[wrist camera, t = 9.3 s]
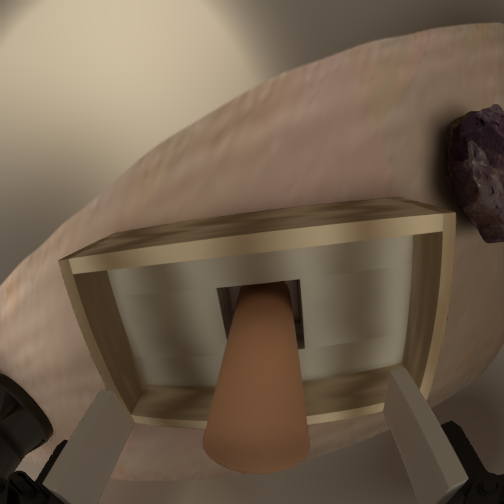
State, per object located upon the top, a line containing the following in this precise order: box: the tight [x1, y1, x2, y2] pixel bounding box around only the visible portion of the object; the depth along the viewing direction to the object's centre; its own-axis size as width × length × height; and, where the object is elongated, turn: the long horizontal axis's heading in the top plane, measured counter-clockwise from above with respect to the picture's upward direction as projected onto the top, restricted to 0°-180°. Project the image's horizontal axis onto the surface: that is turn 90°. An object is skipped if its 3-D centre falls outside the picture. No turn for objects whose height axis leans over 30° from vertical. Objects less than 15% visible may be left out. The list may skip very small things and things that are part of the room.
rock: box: [446, 104, 504, 243], centre depth 16 cm, size 12×9×10 cm
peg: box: [203, 281, 310, 474], centre depth 17 cm, size 4×4×15 cm
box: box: [58, 197, 456, 429], centre depth 20 cm, size 24×14×8 cm, turn 98°
